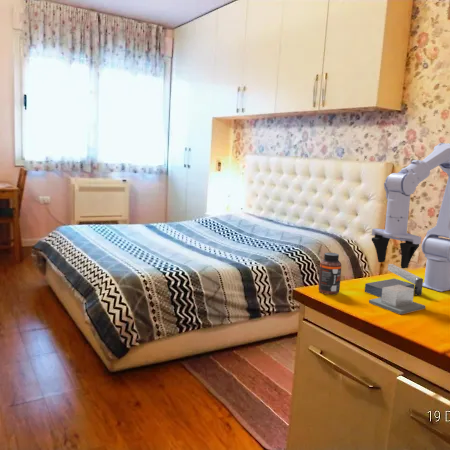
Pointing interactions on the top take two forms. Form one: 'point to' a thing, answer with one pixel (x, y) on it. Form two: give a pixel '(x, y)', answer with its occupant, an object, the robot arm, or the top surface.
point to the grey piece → (376, 287)
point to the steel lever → (408, 277)
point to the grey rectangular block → (397, 295)
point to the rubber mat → (400, 309)
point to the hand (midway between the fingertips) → (392, 264)
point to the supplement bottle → (330, 274)
